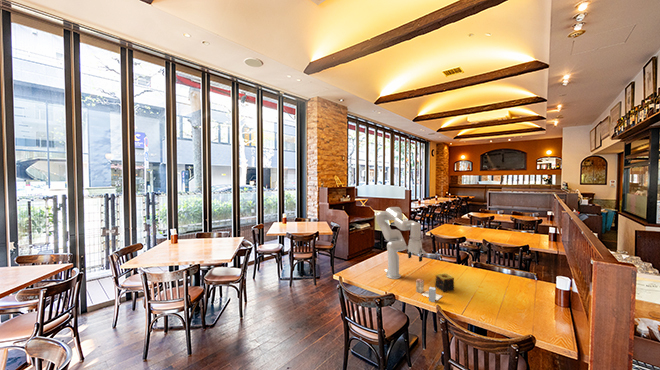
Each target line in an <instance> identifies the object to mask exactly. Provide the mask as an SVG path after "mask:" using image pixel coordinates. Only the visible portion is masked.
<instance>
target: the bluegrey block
mask: <svg viewBox="0 0 660 370" xmlns="http://www.w3.org/2000/svg"><path fill="white" fill-rule="evenodd" d="M436 288H437V287H435V286H434V287H432V286H429V288H428V291H429V298H428V302H430V301H431V303H436V301H437V300H436V294H437V290H436ZM435 300H436V301H435Z"/></svg>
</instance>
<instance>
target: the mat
mask: <svg viewBox="0 0 660 370" xmlns="http://www.w3.org/2000/svg"><path fill="white" fill-rule="evenodd" d="M420 294H421V296H422V295H423V297H425V296H426V298H428V297H429V290H426V291H424V292H422V293H420ZM441 298H443V295H441V294H438V293H436V301H439V300H440V299H441Z"/></svg>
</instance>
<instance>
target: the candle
mask: <svg viewBox="0 0 660 370" xmlns="http://www.w3.org/2000/svg"><path fill="white" fill-rule="evenodd" d="M434 288H437V289H438V290H440V291H442V292H444V293H445V292H451V291H455V277H453V276H452V275H449V274H447V273H440V274H439V273H438V274H435V286H434Z"/></svg>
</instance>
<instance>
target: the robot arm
mask: <svg viewBox="0 0 660 370" xmlns="http://www.w3.org/2000/svg"><path fill="white" fill-rule="evenodd" d="M375 220H376V223H377V225H378V226H379V228H380V230H381V232H382V235H383V237H384V239H385V241H387V243H386V250H387V269H386V268H385V269H384V272H385V273H386V277H387V278H388V279H392V280H394V279H395V280H397V279H400V278H401V277H402V276H401V274H400V256H399V254H398V252H402V251H405V250H406V252H407V255H408V256H407V258H408V259H411V258H412V253H413V254H416V255H418V256H419V257H418V262H419V263H420V262H422V261H423V256H425V254H426V251H425V250H424V249H423V243H422V240H421V234H422V233H421V232H422V231H421V230H422V229H421V228H422V226H421V225H422V224H421V223H420V222H418V221H417V222H416V221H414V220H403V211H402V208H400V207H399V206H389V207H388V208H386V209H385V210H383V211H379V212H377V213H376V215H375ZM391 220H392V221H393V222H394V226H395V227H396V228H397V229H392V228H391V226H390V225H389V223H388V222H386V221H391ZM401 231H410V235H409V240H408V243H406V241H405V238H404V237H403V235H402V232H401ZM407 244H408V245H407Z"/></svg>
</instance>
